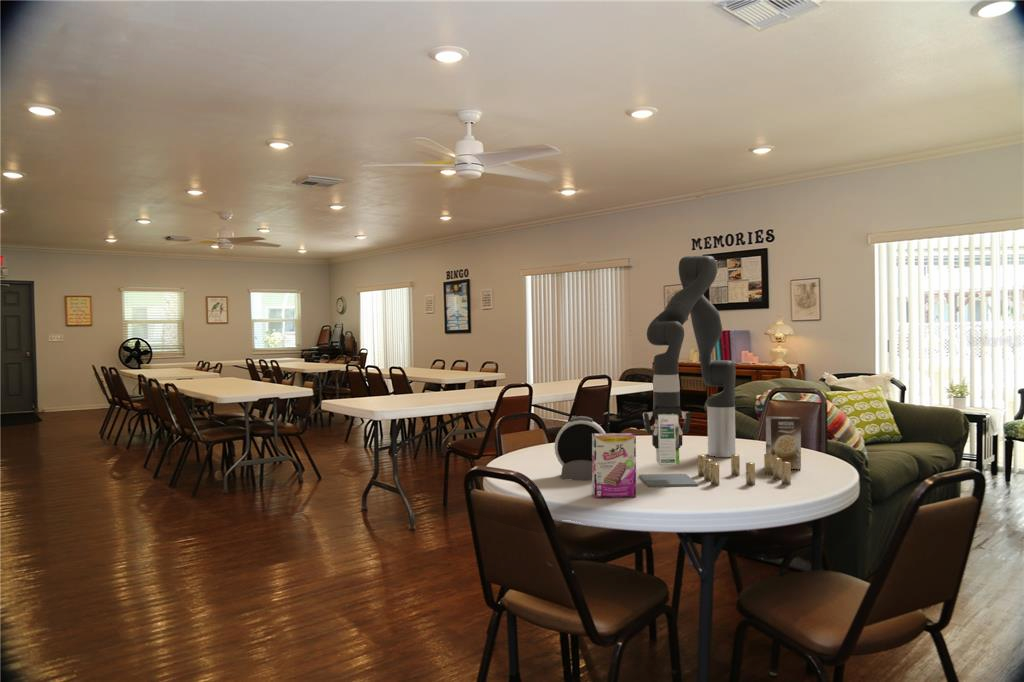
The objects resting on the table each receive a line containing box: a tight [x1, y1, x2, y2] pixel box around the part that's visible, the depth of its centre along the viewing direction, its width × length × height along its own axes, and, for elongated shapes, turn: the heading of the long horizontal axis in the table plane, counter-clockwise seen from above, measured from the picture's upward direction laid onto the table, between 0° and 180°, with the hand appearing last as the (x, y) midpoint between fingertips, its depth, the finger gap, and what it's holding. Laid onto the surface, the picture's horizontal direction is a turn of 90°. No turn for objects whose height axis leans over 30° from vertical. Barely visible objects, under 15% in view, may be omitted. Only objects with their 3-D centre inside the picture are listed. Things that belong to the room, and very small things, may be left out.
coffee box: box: [765, 415, 802, 471], centre depth 212 cm, size 9×6×16 cm
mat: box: [638, 473, 699, 487], centre depth 196 cm, size 14×14×1 cm
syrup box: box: [654, 414, 680, 466], centre depth 196 cm, size 6×6×14 cm
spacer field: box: [697, 453, 792, 486], centre depth 196 cm, size 15×22×6 cm
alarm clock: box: [553, 415, 607, 481], centre depth 204 cm, size 16×10×18 cm, turn 81°
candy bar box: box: [591, 432, 637, 499], centre depth 179 cm, size 11×5×16 cm, turn 92°
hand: (667, 447), depth 196 cm, fingers closed on syrup box, 5 cm apart
